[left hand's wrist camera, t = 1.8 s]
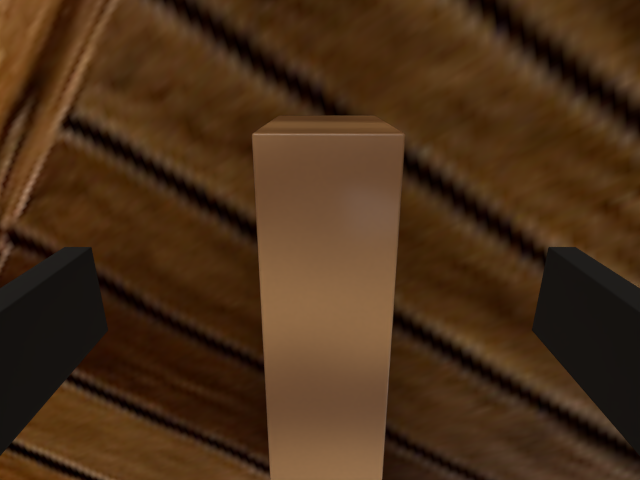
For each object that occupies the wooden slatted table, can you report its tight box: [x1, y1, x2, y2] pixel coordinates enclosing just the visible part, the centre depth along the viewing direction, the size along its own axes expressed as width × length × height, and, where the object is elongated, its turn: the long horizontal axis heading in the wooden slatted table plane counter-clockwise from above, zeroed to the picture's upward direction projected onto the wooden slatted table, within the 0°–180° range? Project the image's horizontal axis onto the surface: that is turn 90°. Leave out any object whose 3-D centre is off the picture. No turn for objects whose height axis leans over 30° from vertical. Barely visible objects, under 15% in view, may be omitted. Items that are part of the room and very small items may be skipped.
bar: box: [252, 116, 405, 480], centre depth 24 cm, size 24×6×9 cm, turn 0°
